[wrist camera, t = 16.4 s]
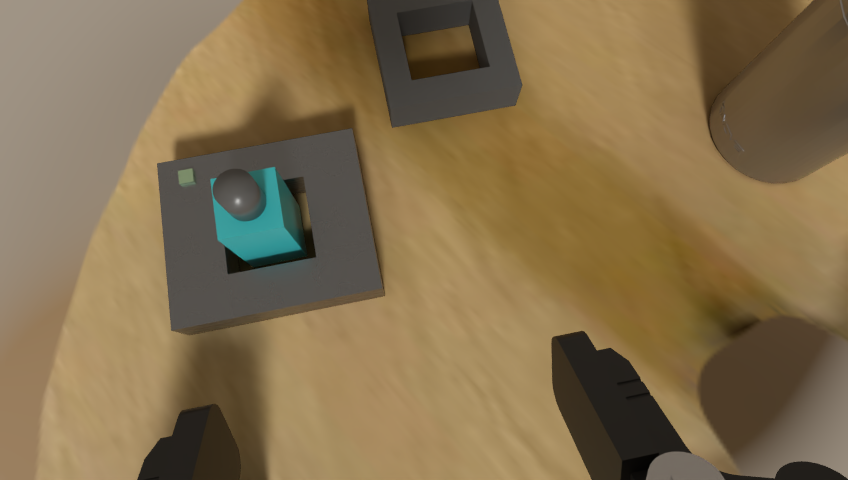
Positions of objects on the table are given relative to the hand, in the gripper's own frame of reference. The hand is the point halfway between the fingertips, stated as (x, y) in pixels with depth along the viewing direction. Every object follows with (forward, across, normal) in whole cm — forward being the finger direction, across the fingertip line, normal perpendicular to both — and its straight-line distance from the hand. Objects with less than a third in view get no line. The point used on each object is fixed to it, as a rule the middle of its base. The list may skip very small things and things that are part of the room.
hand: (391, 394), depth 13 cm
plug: (+27, +8, +10) cm, 30 cm away
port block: (+27, +8, +9) cm, 30 cm away
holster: (+36, -7, +1) cm, 37 cm away
